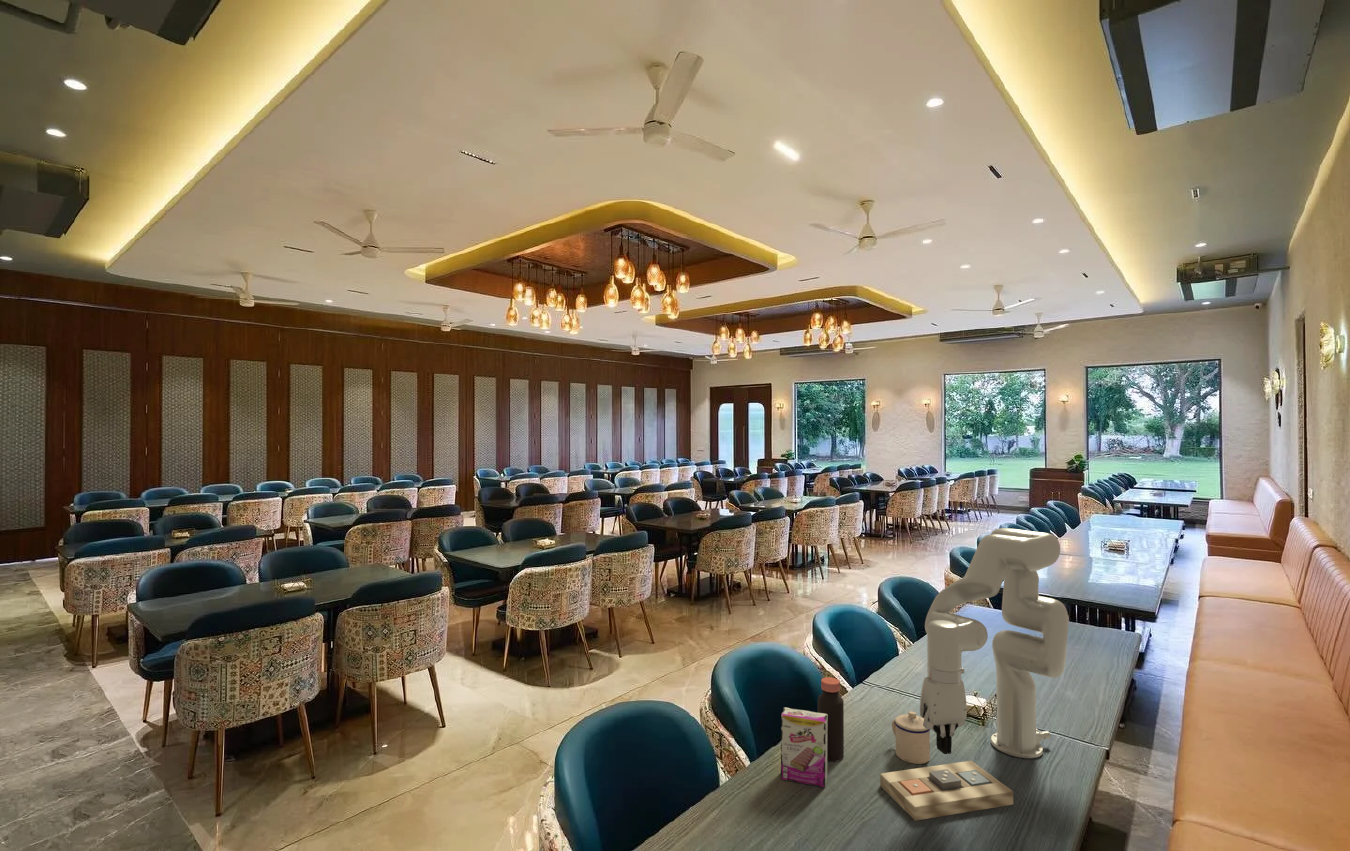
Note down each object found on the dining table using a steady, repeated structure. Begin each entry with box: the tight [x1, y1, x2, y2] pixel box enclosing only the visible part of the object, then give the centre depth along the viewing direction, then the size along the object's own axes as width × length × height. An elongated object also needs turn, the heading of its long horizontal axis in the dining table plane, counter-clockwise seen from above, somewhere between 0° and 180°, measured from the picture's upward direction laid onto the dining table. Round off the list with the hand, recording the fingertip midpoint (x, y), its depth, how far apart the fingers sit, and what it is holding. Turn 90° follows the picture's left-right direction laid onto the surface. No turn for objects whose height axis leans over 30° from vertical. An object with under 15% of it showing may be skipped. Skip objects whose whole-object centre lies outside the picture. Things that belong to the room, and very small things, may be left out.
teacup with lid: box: [891, 711, 931, 765], centre depth 167 cm, size 12×9×12 cm
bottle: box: [817, 676, 845, 762], centre depth 166 cm, size 7×7×20 cm
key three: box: [929, 769, 961, 791], centre depth 147 cm, size 5×5×3 cm
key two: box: [958, 770, 990, 786], centre depth 149 cm, size 5×5×3 cm
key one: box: [900, 779, 932, 796], centre depth 146 cm, size 5×5×3 cm
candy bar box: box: [780, 707, 828, 788], centre depth 154 cm, size 11×5×16 cm, turn 71°
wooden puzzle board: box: [879, 760, 1014, 822], centre depth 147 cm, size 26×14×3 cm, turn 103°
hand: (943, 751), depth 147 cm, fingers closed
